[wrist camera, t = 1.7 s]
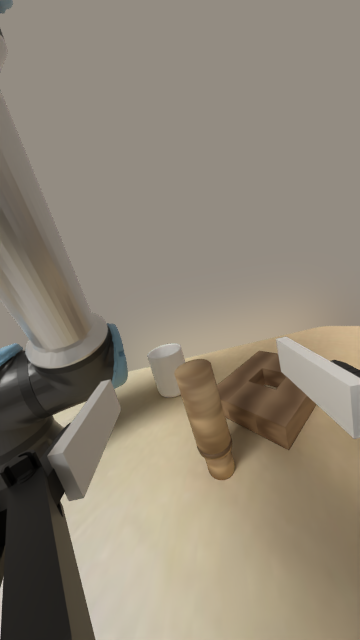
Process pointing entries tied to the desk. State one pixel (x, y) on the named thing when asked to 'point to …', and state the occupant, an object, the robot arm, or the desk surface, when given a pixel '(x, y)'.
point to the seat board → (265, 400)
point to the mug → (166, 368)
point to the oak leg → (206, 416)
